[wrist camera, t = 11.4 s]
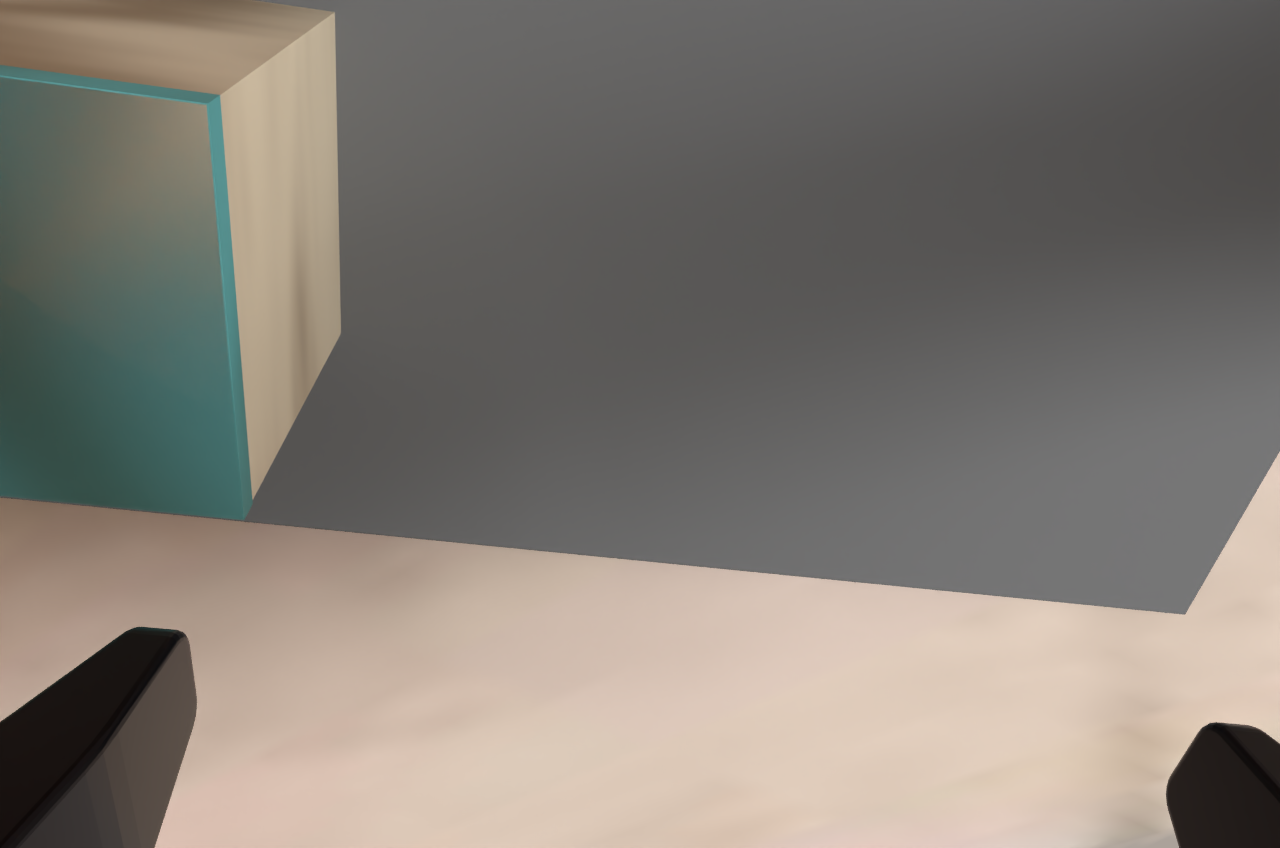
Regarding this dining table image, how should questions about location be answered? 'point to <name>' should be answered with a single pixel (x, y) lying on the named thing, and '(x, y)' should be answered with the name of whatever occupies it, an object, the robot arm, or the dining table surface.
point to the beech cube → (162, 246)
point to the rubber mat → (805, 287)
